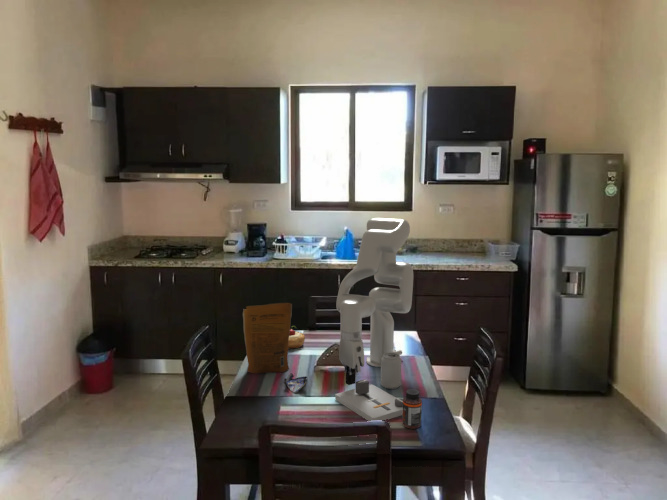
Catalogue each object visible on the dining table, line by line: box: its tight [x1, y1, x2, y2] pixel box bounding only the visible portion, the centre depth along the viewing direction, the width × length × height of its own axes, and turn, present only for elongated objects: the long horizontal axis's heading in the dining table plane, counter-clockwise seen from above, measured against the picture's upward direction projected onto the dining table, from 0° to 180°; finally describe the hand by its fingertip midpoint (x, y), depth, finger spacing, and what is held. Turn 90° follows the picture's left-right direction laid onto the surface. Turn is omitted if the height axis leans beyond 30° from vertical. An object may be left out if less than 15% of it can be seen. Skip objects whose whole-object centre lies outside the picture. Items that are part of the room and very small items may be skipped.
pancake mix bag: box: [242, 302, 293, 375], centre depth 220 cm, size 7×19×28 cm, turn 98°
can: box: [380, 353, 402, 390], centre depth 208 cm, size 8×8×12 cm
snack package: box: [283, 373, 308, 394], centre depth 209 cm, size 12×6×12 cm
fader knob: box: [355, 379, 370, 395], centre depth 197 cm, size 4×2×4 cm, turn 123°
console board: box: [334, 384, 403, 422], centre depth 192 cm, size 16×22×4 cm
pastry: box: [288, 325, 306, 350], centre depth 253 cm, size 12×12×9 cm
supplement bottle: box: [402, 388, 423, 429], centre depth 178 cm, size 6×6×11 cm
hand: (350, 383), depth 203 cm, fingers closed
